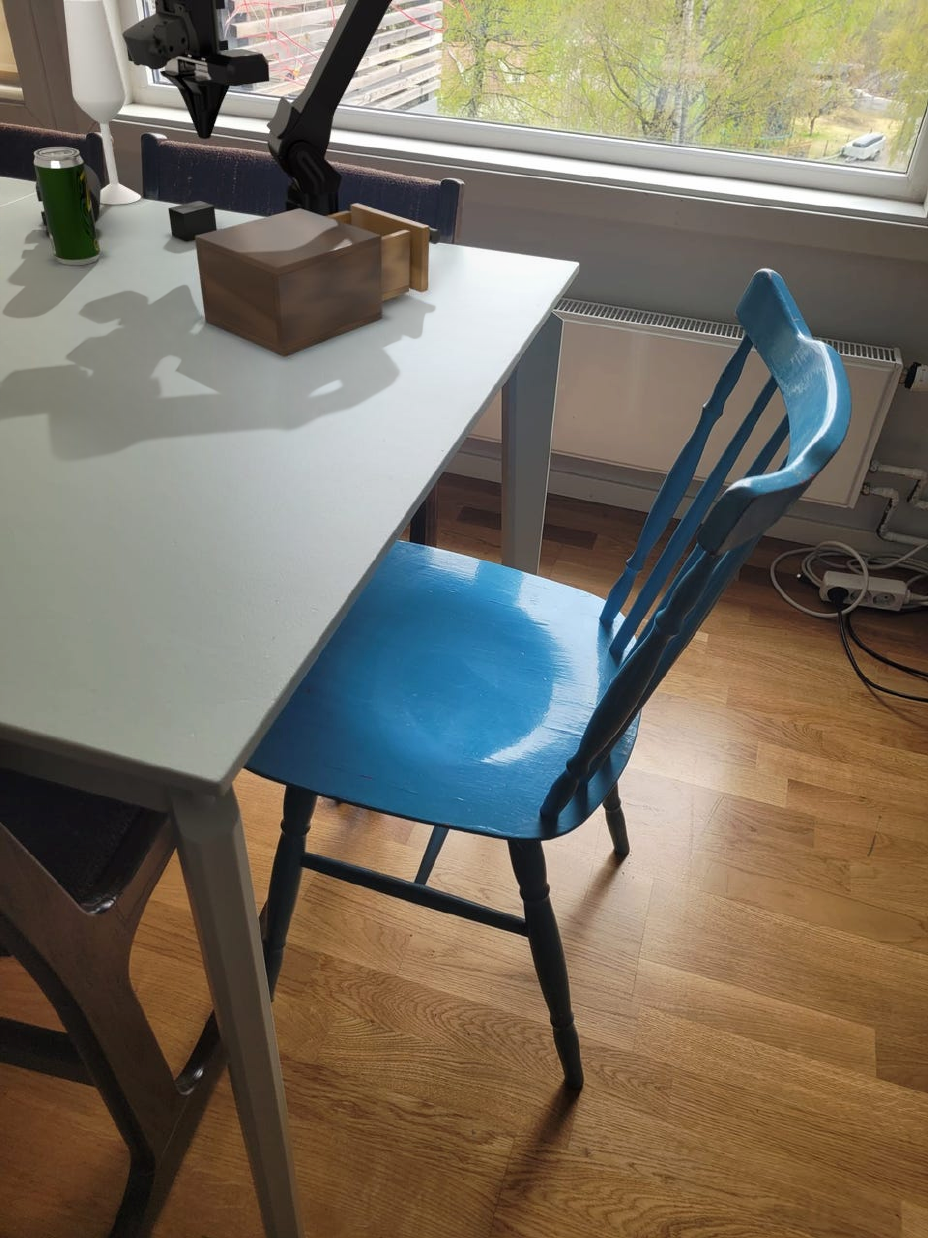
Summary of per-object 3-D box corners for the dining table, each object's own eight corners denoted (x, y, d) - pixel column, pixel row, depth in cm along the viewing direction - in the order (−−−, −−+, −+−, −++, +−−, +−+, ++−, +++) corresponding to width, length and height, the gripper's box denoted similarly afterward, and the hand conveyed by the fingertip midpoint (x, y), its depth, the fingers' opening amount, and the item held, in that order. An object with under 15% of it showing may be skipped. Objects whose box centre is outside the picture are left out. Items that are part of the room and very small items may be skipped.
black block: (202, 227, 128) (199, 200, 126) (217, 233, 127) (214, 205, 125) (172, 235, 125) (168, 207, 123) (186, 241, 124) (182, 213, 122)
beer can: (62, 268, 114) (38, 160, 107) (49, 254, 118) (26, 148, 110) (107, 262, 117) (87, 155, 109) (93, 248, 120) (73, 144, 112)
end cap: (104, 236, 124) (94, 180, 120) (46, 238, 122) (33, 181, 118) (105, 212, 131) (95, 159, 127) (50, 214, 129) (38, 160, 125)
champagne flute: (124, 206, 134) (90, 3, 118) (82, 200, 135) (43, -2, 120) (150, 194, 139) (121, -3, 123) (109, 188, 140) (75, -8, 125)
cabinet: (304, 288, 113) (299, 207, 108) (382, 318, 107) (381, 235, 102) (205, 321, 104) (194, 235, 99) (284, 356, 98) (277, 267, 93)
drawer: (384, 256, 121) (383, 195, 116) (453, 280, 115) (456, 217, 111) (274, 292, 109) (269, 226, 105) (346, 321, 104) (344, 252, 99)
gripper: (76, -22, 106) (101, 132, 116) (187, 1, 98) (204, 165, 108) (157, -26, 114) (174, 120, 123) (268, -5, 105) (276, 149, 115)
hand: (204, 138), depth 117 cm, fingers closed
